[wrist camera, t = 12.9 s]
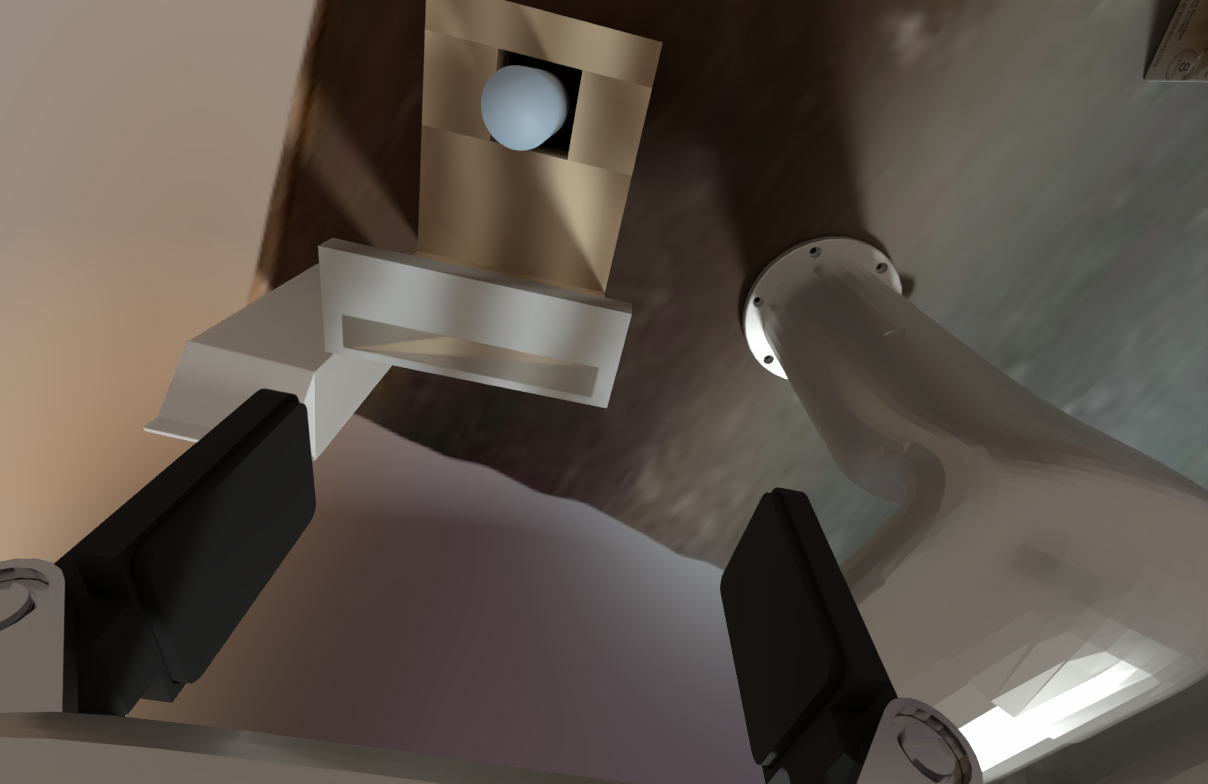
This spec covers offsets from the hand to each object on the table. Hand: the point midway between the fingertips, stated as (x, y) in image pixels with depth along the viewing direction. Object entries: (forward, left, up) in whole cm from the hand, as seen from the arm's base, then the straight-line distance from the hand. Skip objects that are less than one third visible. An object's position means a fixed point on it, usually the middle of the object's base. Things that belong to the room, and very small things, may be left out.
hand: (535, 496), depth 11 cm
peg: (+5, -5, -33) cm, 34 cm away
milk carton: (+18, +14, -34) cm, 41 cm away
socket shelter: (+5, -1, -33) cm, 34 cm away
